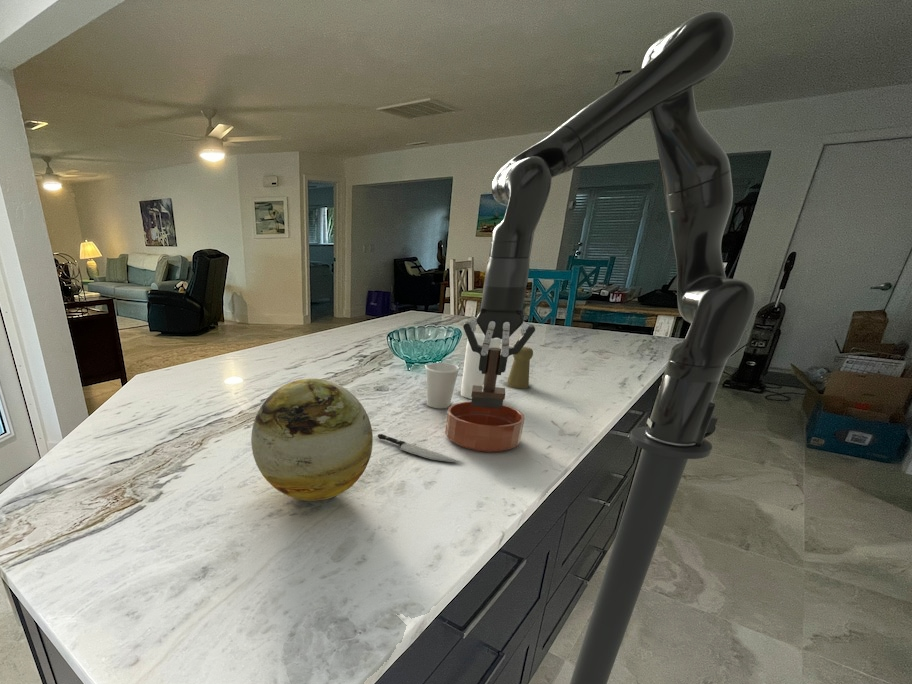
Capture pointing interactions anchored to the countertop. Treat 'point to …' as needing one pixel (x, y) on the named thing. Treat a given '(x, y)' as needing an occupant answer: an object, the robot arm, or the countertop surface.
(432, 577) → the countertop surface
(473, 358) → the white tall cylinder
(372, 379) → the countertop surface
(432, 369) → the dixie cup
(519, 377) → the olive pepper shaker
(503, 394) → the scrub brush
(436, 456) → the chef's knife
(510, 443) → the bowl
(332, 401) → the decorative sphere
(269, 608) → the countertop surface
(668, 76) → the robot arm
